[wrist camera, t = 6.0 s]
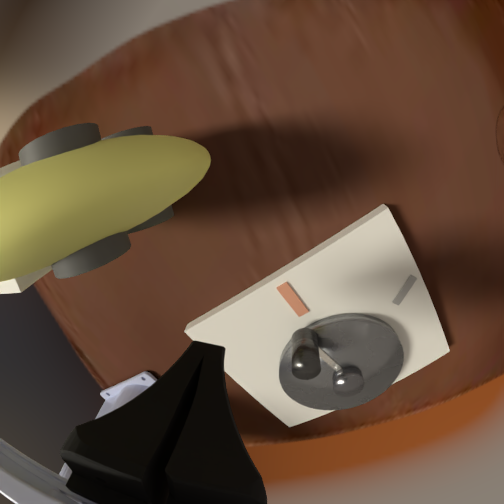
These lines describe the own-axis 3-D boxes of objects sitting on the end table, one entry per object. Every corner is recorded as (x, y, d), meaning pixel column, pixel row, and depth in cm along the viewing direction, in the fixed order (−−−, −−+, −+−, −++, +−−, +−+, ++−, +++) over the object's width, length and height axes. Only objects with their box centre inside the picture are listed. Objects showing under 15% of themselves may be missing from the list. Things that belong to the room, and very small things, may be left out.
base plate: (289, 419, 27) (289, 428, 26) (187, 323, 23) (183, 332, 22) (445, 344, 22) (450, 352, 21) (383, 203, 18) (389, 208, 17)
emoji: (72, 232, 22) (250, 187, 18) (-74, 326, 8) (100, 349, 4) (56, 175, 20) (231, 109, 17) (-105, 239, 6) (17, 60, 3)
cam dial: (418, 361, 22) (433, 396, 18) (326, 414, 25) (328, 450, 21) (353, 280, 19) (367, 316, 15) (245, 355, 23) (238, 395, 19)
